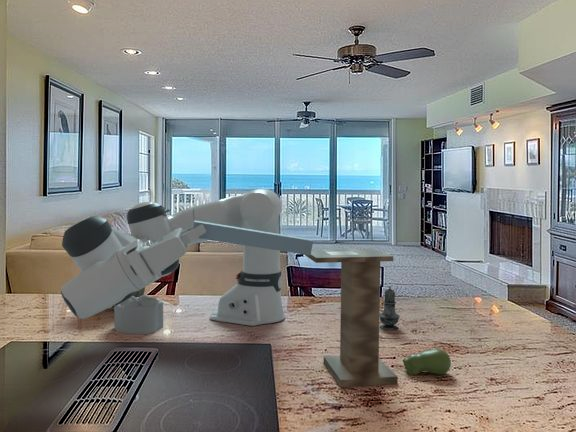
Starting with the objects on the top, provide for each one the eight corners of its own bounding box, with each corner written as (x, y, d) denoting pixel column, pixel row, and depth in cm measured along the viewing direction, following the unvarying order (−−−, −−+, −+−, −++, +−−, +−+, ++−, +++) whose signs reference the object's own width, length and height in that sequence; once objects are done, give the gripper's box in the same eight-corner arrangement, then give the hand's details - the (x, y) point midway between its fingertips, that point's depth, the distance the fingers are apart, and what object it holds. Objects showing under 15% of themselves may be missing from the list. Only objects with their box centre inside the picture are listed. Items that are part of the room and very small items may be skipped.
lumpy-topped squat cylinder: (150, 335, 134) (150, 303, 134) (106, 332, 137) (105, 300, 136) (167, 324, 144) (166, 294, 144) (125, 322, 147) (124, 292, 146)
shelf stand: (316, 389, 99) (317, 258, 98) (301, 364, 113) (302, 249, 111) (397, 383, 102) (400, 256, 101) (374, 360, 116) (375, 248, 114)
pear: (451, 352, 105) (402, 358, 106) (454, 377, 105) (406, 382, 106) (446, 344, 110) (400, 349, 111) (449, 367, 110) (403, 372, 112)
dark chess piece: (399, 331, 139) (400, 288, 138) (378, 330, 140) (379, 287, 139) (399, 325, 144) (400, 284, 144) (378, 324, 146) (379, 283, 145)
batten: (191, 236, 97) (194, 221, 97) (192, 234, 101) (194, 220, 101) (310, 255, 102) (313, 241, 102) (306, 252, 106) (308, 238, 106)
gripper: (155, 267, 109) (211, 234, 110) (145, 286, 89) (213, 246, 90) (140, 242, 108) (196, 210, 109) (126, 255, 88) (195, 216, 89)
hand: (204, 226), depth 100 cm, fingers closed on batten, 4 cm apart
